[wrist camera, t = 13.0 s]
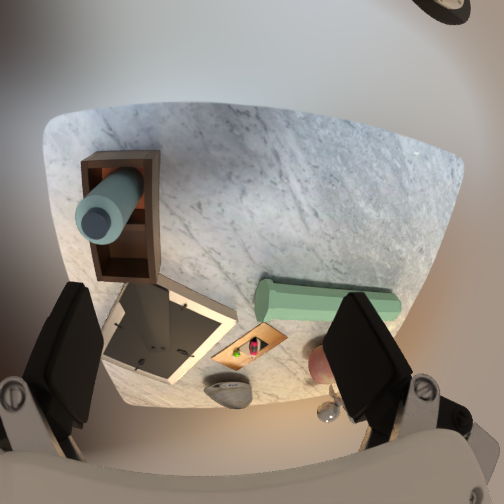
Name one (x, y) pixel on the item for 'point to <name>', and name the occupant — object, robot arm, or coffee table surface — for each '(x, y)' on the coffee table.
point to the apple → (320, 367)
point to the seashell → (230, 394)
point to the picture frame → (163, 329)
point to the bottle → (109, 205)
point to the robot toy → (331, 408)
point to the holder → (138, 225)
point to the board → (250, 346)
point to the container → (313, 302)
